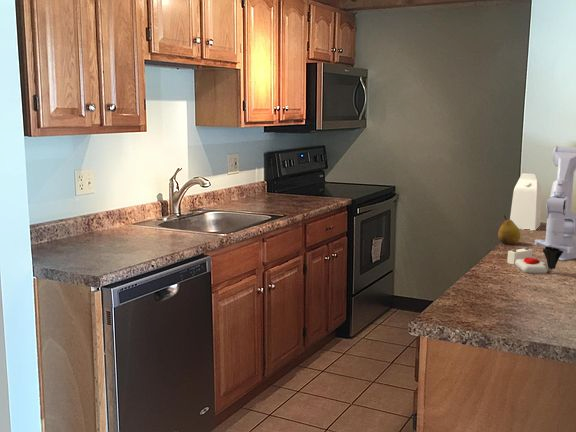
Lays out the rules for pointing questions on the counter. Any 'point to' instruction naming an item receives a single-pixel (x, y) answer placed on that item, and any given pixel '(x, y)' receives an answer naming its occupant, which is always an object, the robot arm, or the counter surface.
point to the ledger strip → (518, 254)
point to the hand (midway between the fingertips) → (551, 268)
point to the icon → (531, 265)
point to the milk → (526, 202)
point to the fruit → (508, 232)
